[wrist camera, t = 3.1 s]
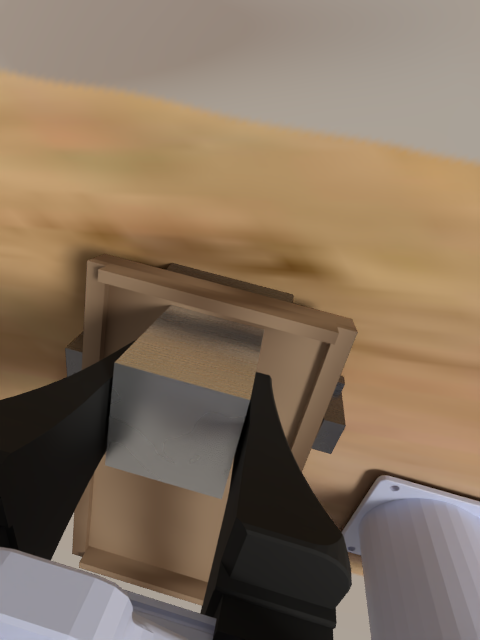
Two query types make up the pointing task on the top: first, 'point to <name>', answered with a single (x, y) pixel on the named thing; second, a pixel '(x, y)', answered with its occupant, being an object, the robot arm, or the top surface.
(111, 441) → the block
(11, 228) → the top surface
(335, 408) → the beam stand
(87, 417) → the robot arm
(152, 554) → the balance beam
